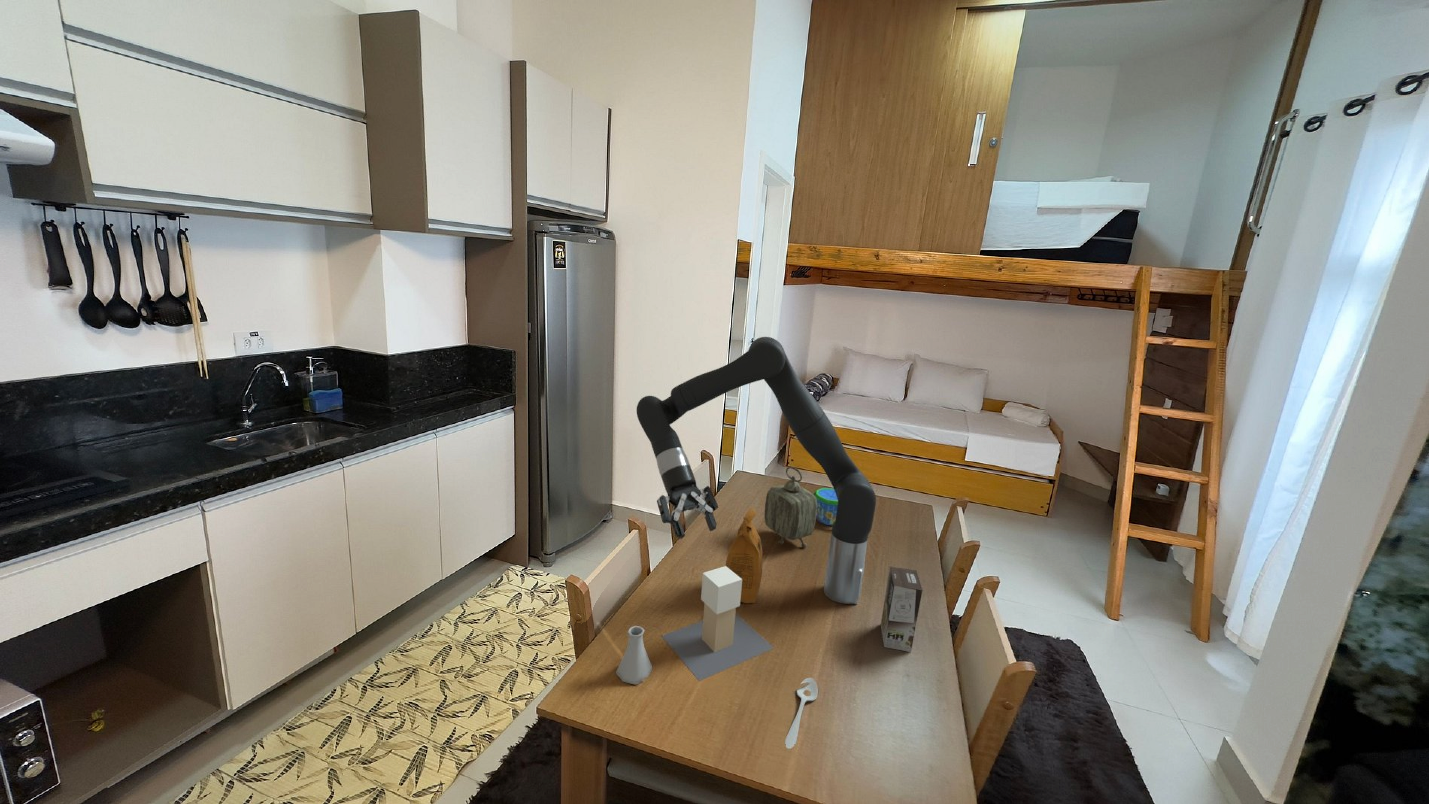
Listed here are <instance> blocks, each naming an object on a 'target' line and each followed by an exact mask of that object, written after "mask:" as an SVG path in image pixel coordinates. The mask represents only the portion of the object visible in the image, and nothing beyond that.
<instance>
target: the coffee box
mask: <svg viewBox="0 0 1429 804" xmlns="http://www.w3.org/2000/svg"><path fill="white" fill-rule="evenodd" d="M888 571H889V572H888V576H887V582H886V589H885V595H884V601H883V602H884V603H883V609H882V613H881V619H880V620H881V621H880V628H881V635H882V642H883V647H884V648H888V649H894V650H898V651H901V652H902V651H903V652H908V653H910V652H912V649H913V643H914V637H915V632H916V626H917V621H918V616H919V611H920V606H921V602H922V601H921V599H922V595H923V591H924V590H923V588H922V583H921V581H920V578H919V575H918V572H917V569H916V570H915V569H911V568H910V569H909V568H903V567H894V566H889V570H888Z"/></svg>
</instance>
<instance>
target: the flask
mask: <svg viewBox="0 0 1429 804" xmlns="http://www.w3.org/2000/svg"><path fill="white" fill-rule="evenodd" d="M644 633H645V629H644V628H643V627H642V626H638V625H633V626H631V627H629V629H628V630H627V635H628V642H627V647H626V648H625V649H626V650H625V651H624V654H623V657H622V658H621V661H620V663H619V665H618V667H617V669H616V672H615V673H616V675H617V677H619V679H620V680H621V681H622V682H623V683H624V682H625V683H628V684H632V685H638V684H640V683H643V680H645V679H647V678H649V676H650V674H651V672H652V670H653V666H652V663H651V661H650V659H649V655H648V653H647V651H646V648H645V645H644V638H643V635H644Z"/></svg>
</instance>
